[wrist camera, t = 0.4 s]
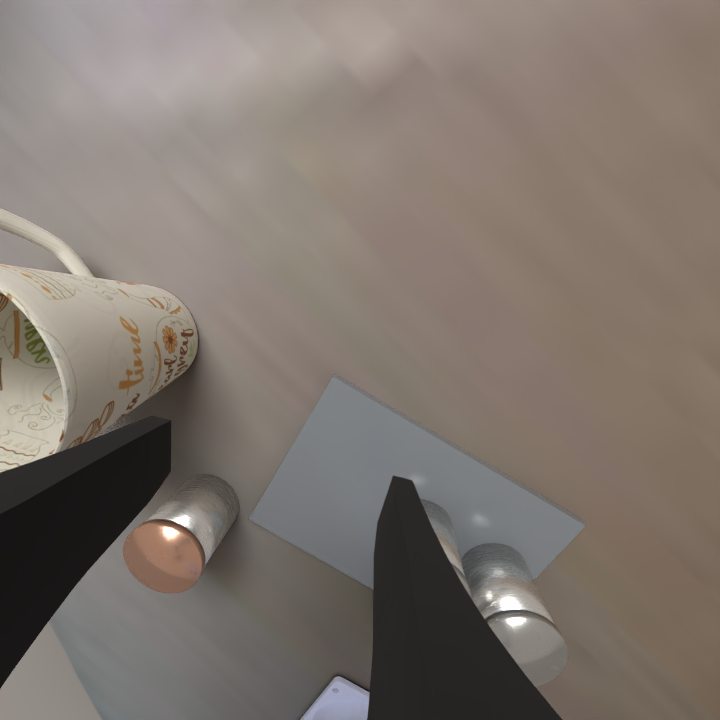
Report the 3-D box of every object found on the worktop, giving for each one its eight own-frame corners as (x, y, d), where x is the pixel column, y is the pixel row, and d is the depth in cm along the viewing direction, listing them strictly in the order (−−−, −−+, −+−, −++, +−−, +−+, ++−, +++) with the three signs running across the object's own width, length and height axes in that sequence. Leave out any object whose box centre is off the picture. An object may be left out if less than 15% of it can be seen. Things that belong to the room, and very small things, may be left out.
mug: (154, 419, 23) (-22, 524, 13) (18, 264, 21) (-297, 254, 12) (243, 349, 21) (115, 411, 11) (103, 173, 19) (-189, 70, 10)
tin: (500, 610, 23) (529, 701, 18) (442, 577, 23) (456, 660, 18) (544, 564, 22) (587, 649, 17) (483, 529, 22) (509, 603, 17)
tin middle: (428, 569, 23) (438, 650, 18) (370, 535, 23) (363, 607, 18) (469, 520, 22) (490, 593, 17) (407, 484, 21) (410, 547, 17)
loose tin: (225, 540, 25) (182, 606, 20) (169, 509, 25) (112, 567, 20) (251, 494, 24) (213, 552, 19) (193, 461, 23) (139, 511, 18)
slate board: (469, 636, 25) (471, 645, 24) (252, 513, 24) (248, 519, 23) (580, 519, 21) (585, 525, 21) (334, 374, 21) (332, 376, 20)
